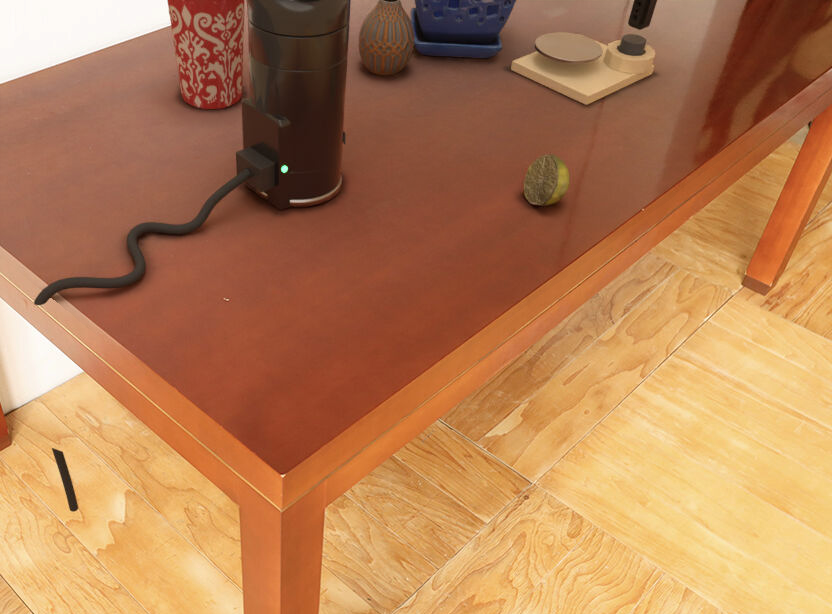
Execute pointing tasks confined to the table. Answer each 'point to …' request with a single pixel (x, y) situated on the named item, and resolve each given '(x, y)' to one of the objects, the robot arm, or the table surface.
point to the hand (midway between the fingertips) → (637, 26)
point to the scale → (587, 72)
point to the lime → (546, 180)
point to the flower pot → (459, 27)
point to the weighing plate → (568, 47)
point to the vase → (386, 38)
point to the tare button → (632, 45)
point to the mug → (209, 50)
